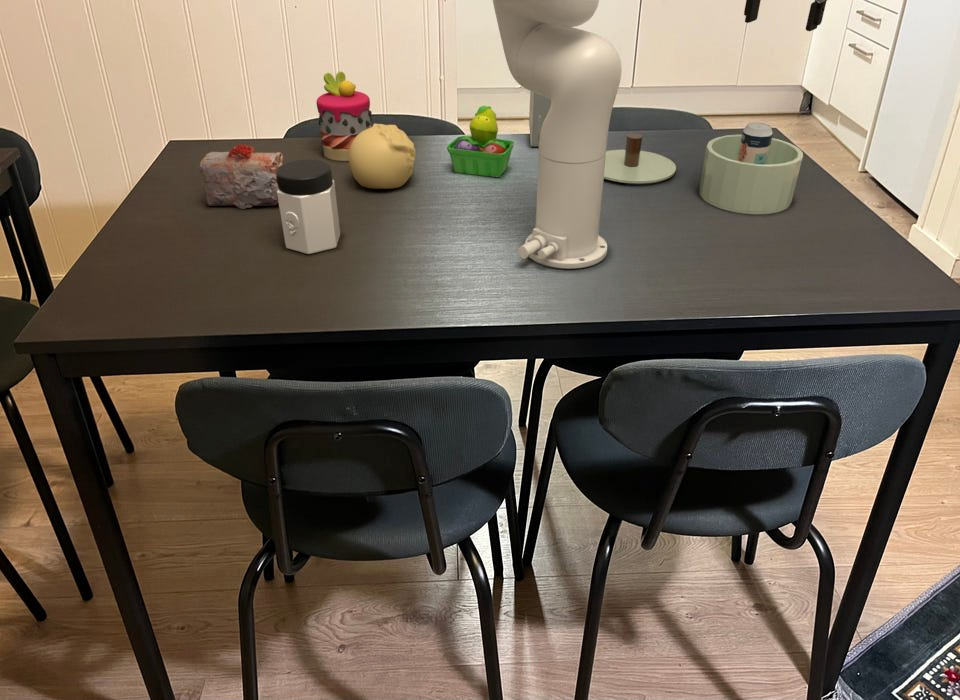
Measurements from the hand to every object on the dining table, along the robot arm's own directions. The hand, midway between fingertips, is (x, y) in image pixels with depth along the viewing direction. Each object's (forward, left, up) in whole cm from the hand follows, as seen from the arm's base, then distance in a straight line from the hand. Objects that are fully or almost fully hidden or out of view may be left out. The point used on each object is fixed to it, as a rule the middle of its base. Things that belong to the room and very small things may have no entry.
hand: (780, 25), depth 118 cm
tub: (0, 0, -28) cm, 28 cm away
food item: (-58, +65, -28) cm, 92 cm away
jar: (-61, +44, -28) cm, 80 cm away
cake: (-30, +71, -28) cm, 82 cm away
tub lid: (-2, +22, -28) cm, 35 cm away
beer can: (0, 0, -28) cm, 28 cm away
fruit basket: (-20, +44, -28) cm, 56 cm away
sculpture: (-37, +53, -28) cm, 71 cm away
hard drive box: (+4, +46, -28) cm, 54 cm away
